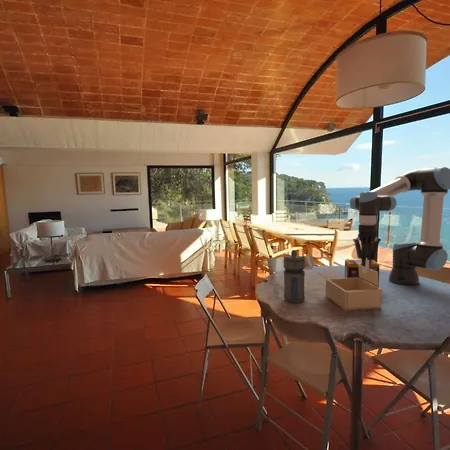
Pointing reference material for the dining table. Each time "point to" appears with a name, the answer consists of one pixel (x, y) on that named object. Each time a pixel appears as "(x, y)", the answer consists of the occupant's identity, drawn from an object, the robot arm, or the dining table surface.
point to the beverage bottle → (294, 278)
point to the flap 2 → (368, 275)
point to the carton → (353, 294)
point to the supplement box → (353, 269)
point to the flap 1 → (329, 280)
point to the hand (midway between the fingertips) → (365, 272)
